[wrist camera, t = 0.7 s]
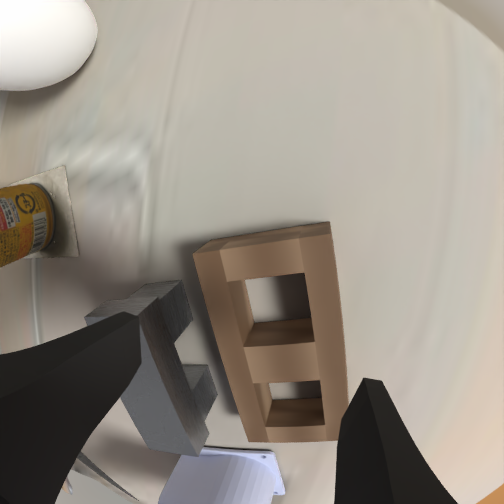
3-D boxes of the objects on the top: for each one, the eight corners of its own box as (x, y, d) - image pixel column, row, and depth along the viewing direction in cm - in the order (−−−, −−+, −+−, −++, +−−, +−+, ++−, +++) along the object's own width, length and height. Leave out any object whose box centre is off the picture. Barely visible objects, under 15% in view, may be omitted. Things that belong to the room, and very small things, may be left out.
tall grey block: (181, 397, 25) (149, 449, 19) (138, 278, 22) (84, 317, 16) (224, 398, 24) (198, 456, 18) (186, 272, 21) (136, 315, 15)
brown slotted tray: (257, 415, 24) (248, 441, 21) (210, 240, 20) (192, 254, 17) (348, 411, 22) (349, 439, 19) (329, 221, 18) (330, 233, 15)
